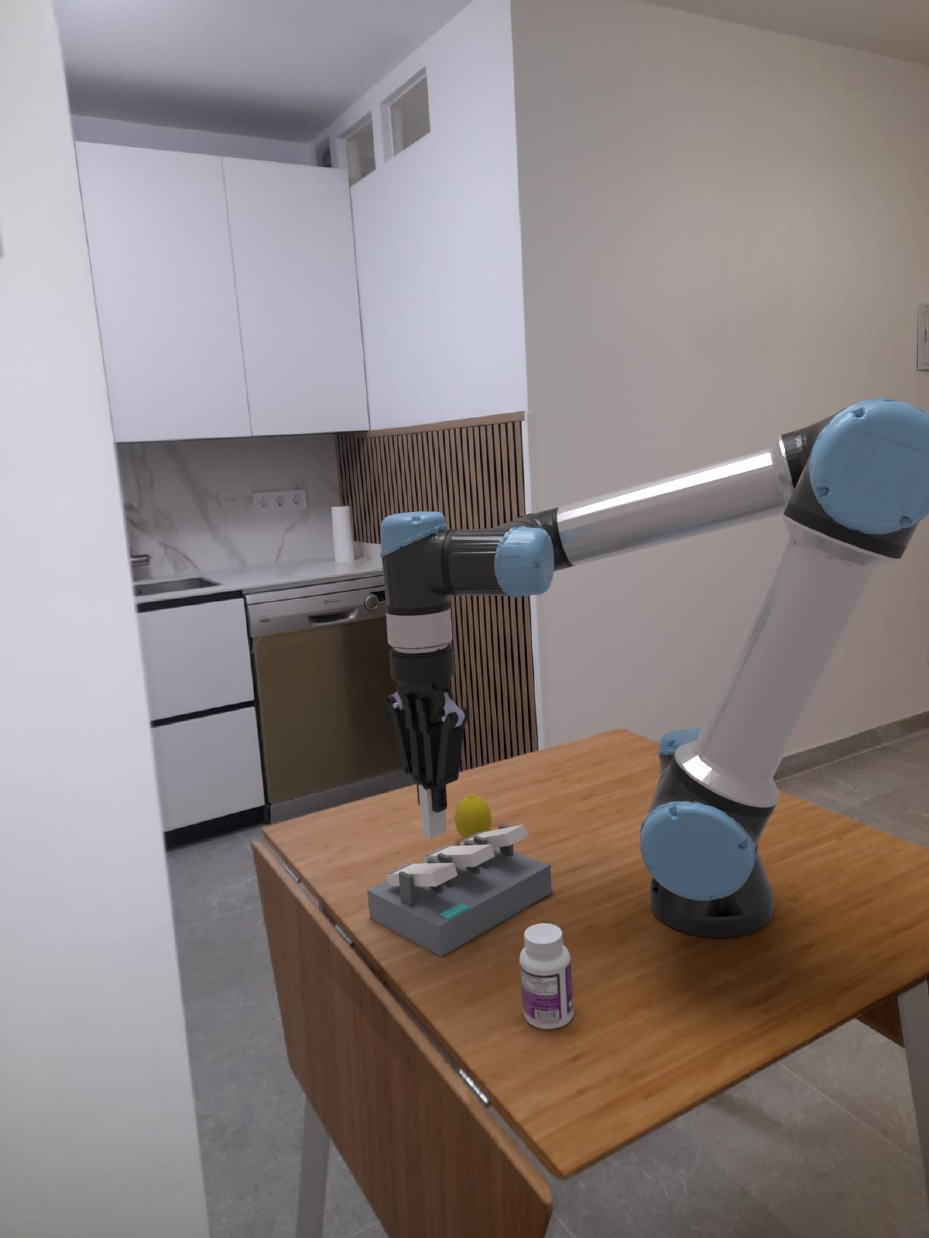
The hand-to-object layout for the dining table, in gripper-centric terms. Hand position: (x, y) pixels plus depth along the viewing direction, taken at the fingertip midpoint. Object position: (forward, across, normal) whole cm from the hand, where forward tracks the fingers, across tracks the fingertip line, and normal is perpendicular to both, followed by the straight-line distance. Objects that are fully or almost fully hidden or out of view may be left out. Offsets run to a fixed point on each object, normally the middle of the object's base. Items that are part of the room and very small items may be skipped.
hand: (434, 833), depth 111 cm
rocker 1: (+7, +3, 0) cm, 7 cm away
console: (+14, +3, -6) cm, 15 cm away
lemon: (+14, +15, -20) cm, 29 cm away
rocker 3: (+7, +3, -13) cm, 15 cm away
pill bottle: (+14, -21, +3) cm, 25 cm away
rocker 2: (+7, +3, -6) cm, 10 cm away
